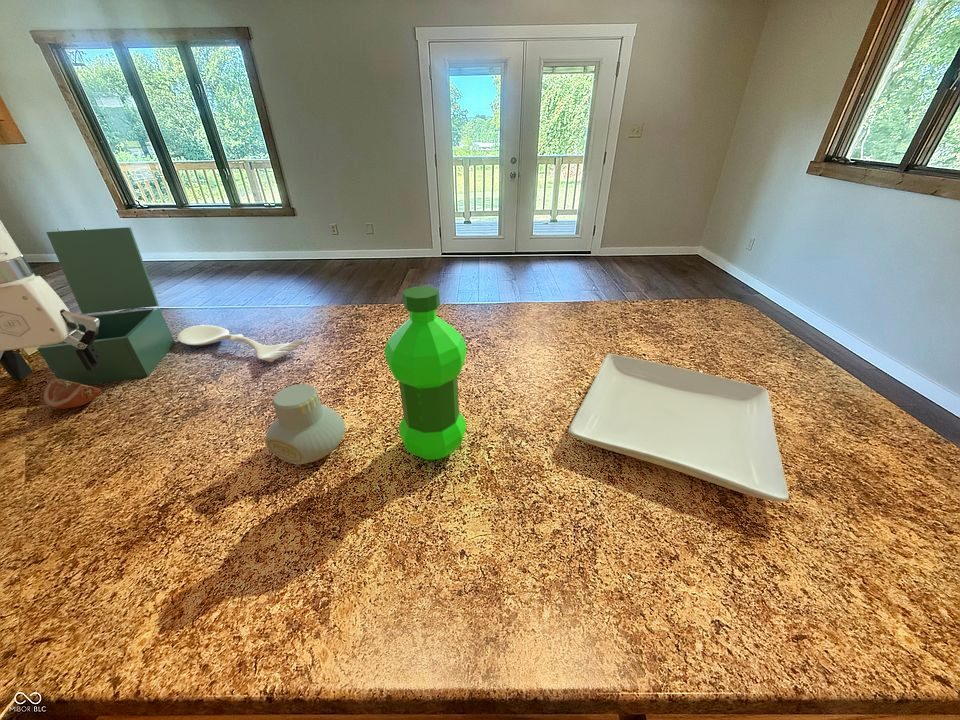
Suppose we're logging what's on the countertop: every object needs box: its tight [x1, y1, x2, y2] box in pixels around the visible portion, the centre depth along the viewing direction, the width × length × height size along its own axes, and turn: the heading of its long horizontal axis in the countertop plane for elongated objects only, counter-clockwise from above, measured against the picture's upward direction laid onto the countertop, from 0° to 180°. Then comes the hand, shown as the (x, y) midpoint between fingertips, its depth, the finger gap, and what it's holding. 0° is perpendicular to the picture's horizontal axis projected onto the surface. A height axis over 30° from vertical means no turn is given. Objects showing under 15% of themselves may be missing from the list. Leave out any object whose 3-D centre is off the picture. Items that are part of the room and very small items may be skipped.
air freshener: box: [264, 383, 346, 465], centre depth 56 cm, size 11×8×10 cm
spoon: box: [176, 324, 305, 363], centre depth 85 cm, size 9×32×4 cm, turn 68°
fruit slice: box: [42, 377, 102, 409], centre depth 67 cm, size 8×7×5 cm
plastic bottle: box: [384, 285, 467, 461], centre depth 52 cm, size 10×10×25 cm
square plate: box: [568, 353, 790, 503], centre depth 62 cm, size 27×27×4 cm
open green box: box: [36, 307, 176, 386], centre depth 78 cm, size 16×14×9 cm
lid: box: [46, 226, 160, 315], centre depth 79 cm, size 16×14×1 cm
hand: (60, 371), depth 64 cm, fingers open, 9 cm apart
